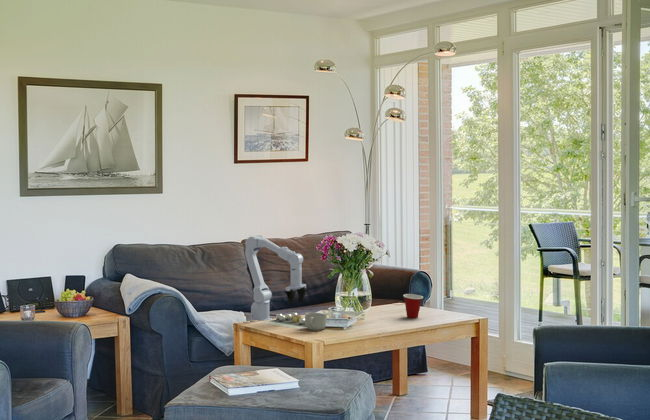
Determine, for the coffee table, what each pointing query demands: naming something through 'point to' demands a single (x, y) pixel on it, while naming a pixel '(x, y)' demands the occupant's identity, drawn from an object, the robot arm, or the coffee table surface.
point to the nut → (295, 318)
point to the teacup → (315, 321)
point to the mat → (285, 324)
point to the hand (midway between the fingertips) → (296, 303)
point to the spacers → (289, 318)
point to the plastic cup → (412, 305)
